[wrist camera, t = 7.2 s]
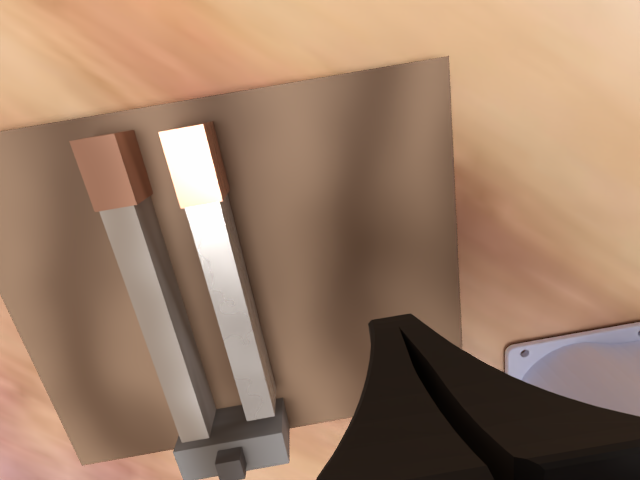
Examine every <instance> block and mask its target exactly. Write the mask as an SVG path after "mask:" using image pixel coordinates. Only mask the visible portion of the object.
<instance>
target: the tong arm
mask: <svg viewBox="0 0 640 480" xmlns="http://www.w3.org/2000/svg"><path fill="white" fill-rule="evenodd" d="M158 133H159V137H160V140H161V143H162V147H163V150H164V154H165V157H166V160H167V164H168V167H169V171H170V174H171V177H172V181H173V184H174V188H175V191H176V194H177V198H178V201H179V205H180V208H181V209H182V208H185V210H186V214H187V217H188V221H189V224H190V228H191V231H192V234H193V238H194V241H195V245H196V248H197V252H198V255H199V258H200V262H201V265H202V269H203V272H204V276H205V279H206V283H207V286H208V289H209V293H210V296H211V300H212V303H213V307H214V310H215V313H216V317H217V320H218V324H219V327H220V331H221V334H222V338H223V341H224V344H225V348H226V351H227V355H228V358H229V362H230V365H231V368H232V372H233V375H234V379H235V382H236V386H237V389H238V393H239V396H240V399H241V403H242V406H243V410H244V413H245V417H246V420H247V421H251V420H257V419H262V418H268V417H273V416H275V405H276V386H275V382H274V378H273V374H272V370H271V366H270V362H269V358H268V354H267V350H266V346H265V342H264V338H263V334H262V330H261V326H260V322H259V318H258V314H257V310H256V306H255V302H254V298H253V294H252V290H251V286H250V282H249V278H248V274H247V270H246V266H245V262H244V258H243V254H242V250H241V246H240V242H239V238H238V234H237V230H236V226H235V222H234V218H233V214H232V210H231V206H230V202H229V198H228V192H229V191H230V187H229V183H228V179H227V175H226V171H225V167H224V163H223V159H222V155H221V151H220V147H219V143H218V139H217V135H216V131H215V127H214V123H213V121H212V122H206V123H201V124H195V125H189V126H184V127H178V128H173V129H169V130H165V131H161V132H158Z"/></svg>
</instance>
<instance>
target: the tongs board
mask: <svg viewBox="0 0 640 480" xmlns="http://www.w3.org/2000/svg"><path fill="white" fill-rule="evenodd" d="M212 121H213V123H214V127H215V131H216V135H217V139H218V143H219V147H220V151H221V155H222V159H223V163H224V167H225V171H226V175H227V179H228V183H229V187H230V191H229V192H228V198H229V202H230V206H231V210H232V214H233V218H234V222H235V226H236V230H237V234H238V238H239V242H240V246H241V250H242V254H243V258H244V262H245V266H246V270H247V274H248V278H249V282H250V286H251V290H252V294H253V298H254V302H255V306H256V310H257V314H258V318H259V322H260V326H261V330H262V334H263V338H264V342H265V346H266V350H267V354H268V358H269V362H270V366H271V370H272V374H273V378H274V382H275V386H276V405H275V416H273V417H268V418H262V419H257V420H251V421H247V420H246V417H245V413H244V410H243V406H242V403H241V399H240V396H239V393H238V389H237V386H236V382H235V379H234V375H233V372H232V368H231V365H230V362H229V358H228V355H227V351H226V348H225V344H224V341H223V338H222V334H221V331H220V327H219V324H218V320H217V317H216V313H215V310H214V307H213V303H212V300H211V296H210V293H209V289H208V286H207V283H206V279H205V276H204V272H203V269H202V265H201V262H200V258H199V255H198V252H197V248H196V245H195V241H194V238H193V234H192V231H191V228H190V224H189V221H188V217H187V214H186V210H185V208H182V209H181V208H180V205H179V201H178V198H177V194H176V191H175V188H174V184H173V181H172V177H171V174H170V171H169V167H168V164H167V160H166V157H165V154H164V150H163V147H162V143H161V140H160V137H159V133H158V132H161V131H165V130H169V129H173V128H178V127H184V126H189V125H195V124H201V123H206V122H212ZM0 295H1V297H2V299H3V301H4V303H5V305H6V307H7V309H8V312H9V314H10V316H11V318H12V320H13V322H14V324H15V326H16V328H17V330H18V332H19V335H20V337H21V339H22V341H23V343H24V345H25V347H26V349H27V351H28V353H29V356H30V358H31V360H32V362H33V364H34V366H35V368H36V370H37V372H38V374H39V376H40V379H41V381H42V383H43V385H44V387H45V389H46V391H47V393H48V395H49V397H50V400H51V402H52V404H53V406H54V408H55V410H56V412H57V414H58V416H59V418H60V420H61V423H62V425H63V427H64V429H65V431H66V433H67V435H68V437H69V439H70V441H71V444H72V446H73V448H74V450H75V452H76V454H77V456H78V458H79V460H80V462H81V464H82V466H83V465H88V464H94V463H99V462H105V461H111V460H116V459H122V458H127V457H133V456H138V455H144V454H150V453H155V452H161V451H166V450H172V449H174V451H173V453H174V456H175V459H176V461H177V464H178V467H179V469H180V472H181V475H182V478H183V480H198V479H204V478H209V477H215V476H219V479H220V480H240V479H245V475H246V471H248V470H253V469H259V468H265V467H270V466H276V465H281V464H287V463H289V428H295V427H300V426H306V425H311V424H317V423H323V422H328V421H334V420H339V419H345V418H350V417H353V415H354V413H355V410H356V408H357V405H358V403H359V400H360V397H361V394H362V391H363V387H364V383H365V380H366V375H367V370H368V365H369V360H370V350H371V342H370V334H369V327H368V323H369V322H370V321H371V320H374V319H380V318H386V317H392V316H398V315H404V314H410V313H411V314H412V315H414V316H415V317H417V318H418V319H419V320H421V321H422V322H423V323H425V324H426V325H427V326H429V327H430V328H431V329H433V330H434V331H435V332H437V333H438V334H439V335H441V336H442V337H444V338H445V339H447V340H448V341H450V342H451V343H453V344H454V345H456V346H457V347H459V348H460V349H462V332H461V310H460V288H459V267H458V245H457V223H456V202H455V180H454V158H453V137H452V115H451V93H450V72H449V56H447V57H441V58H435V59H429V60H423V61H417V62H411V63H405V64H399V65H393V66H387V67H382V68H376V69H370V70H364V71H358V72H352V73H346V74H340V75H334V76H328V77H322V78H316V79H310V80H304V81H298V82H292V83H286V84H281V85H275V86H269V87H263V88H257V89H251V90H245V91H239V92H233V93H227V94H221V95H215V96H209V97H203V98H197V99H191V100H185V101H179V102H174V103H168V104H162V105H156V106H150V107H144V108H138V109H132V110H126V111H120V112H114V113H108V114H102V115H96V116H90V117H84V118H78V119H72V120H67V121H61V122H55V123H49V124H43V125H37V126H31V127H25V128H19V129H13V130H7V131H1V132H0Z"/></svg>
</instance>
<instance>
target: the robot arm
mask: <svg viewBox="0 0 640 480" xmlns="http://www.w3.org/2000/svg"><path fill="white" fill-rule="evenodd" d="M368 327H369V334H370V342H371V350H370V360H369V365H368V370H367V375H366V380H365V383H364V387H363V391H362V394H361V397H360V400H359V403H358V405H357V408H356V410H355V413H354V415H353V418H352V420H351V422H350V424H349V426H348V428H347V430H346V432H345V434H344V436H343V438H342V440H341V441H340V443H339V445H338V447H337V449H336V450H335V452H334V454H333V455H332V457H331V458H330V460H329V461H328V462H327V464H326V465H325V467H324V468H323V470H322V471H321V473H320V474H319V475H318V477H317V479H316V480H640V322H636V323H631V324H625V325H619V326H614V327H608V328H603V329H597V330H591V331H586V332H580V333H574V334H569V335H563V336H558V337H552V338H546V339H541V340H535V341H529V342H524V343H518V344H513V345H510V346H509V347H507V349H506V351H505V373H504V372H502V371H500V370H498V369H496V368H494V367H492V366H490V365H488V364H486V363H484V362H482V361H480V360H479V359H477V358H475V357H474V356H472V355H470V354H469V353H467V352H465V351H463V350H462V349H460V348H459V347H457V346H456V345H454V344H453V343H451V342H450V341H448V340H447V339H445V338H444V337H442V336H441V335H439V334H438V333H437V332H435V331H434V330H433V329H431V328H430V327H429V326H427V325H426V324H425V323H423V322H422V321H421V320H419V319H418V318H417V317H415V316H414V315H412V314H411V313H410V314H404V315H398V316H392V317H386V318H380V319H374V320H371V321H370V322H369V323H368ZM523 350H525V351H524V352H523V353H521V352H522V351H523Z"/></svg>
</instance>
